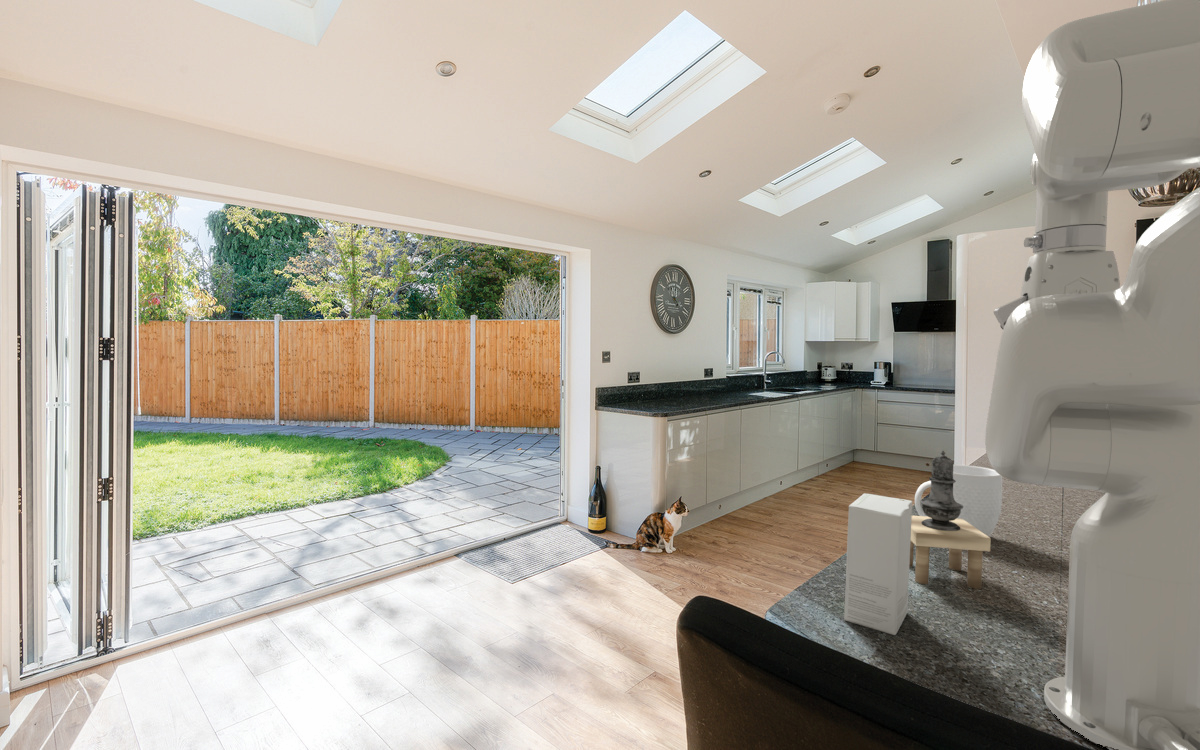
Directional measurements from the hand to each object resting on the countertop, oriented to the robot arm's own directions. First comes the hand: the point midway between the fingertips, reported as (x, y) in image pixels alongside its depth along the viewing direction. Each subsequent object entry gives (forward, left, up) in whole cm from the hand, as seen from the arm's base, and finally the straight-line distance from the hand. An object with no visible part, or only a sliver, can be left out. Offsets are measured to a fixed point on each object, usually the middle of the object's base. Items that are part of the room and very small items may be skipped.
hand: (1064, 368), depth 76 cm
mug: (+31, +1, -34) cm, 46 cm away
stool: (+8, +12, -33) cm, 36 cm away
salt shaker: (+8, +12, -26) cm, 29 cm away
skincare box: (-10, +25, -34) cm, 43 cm away
